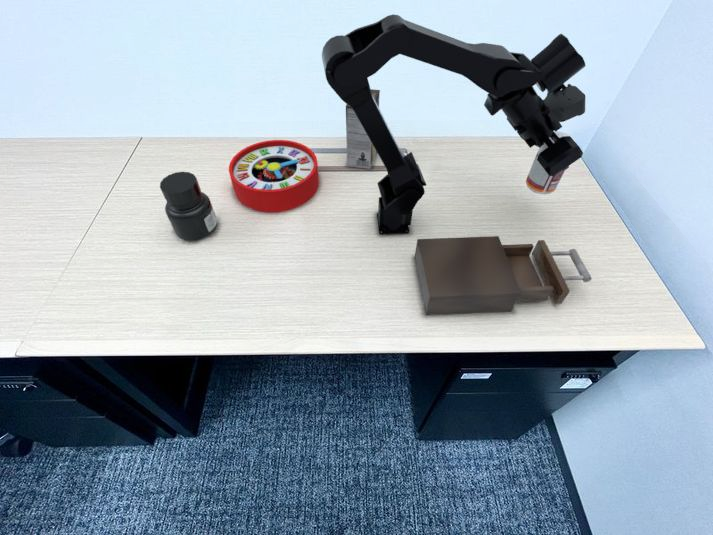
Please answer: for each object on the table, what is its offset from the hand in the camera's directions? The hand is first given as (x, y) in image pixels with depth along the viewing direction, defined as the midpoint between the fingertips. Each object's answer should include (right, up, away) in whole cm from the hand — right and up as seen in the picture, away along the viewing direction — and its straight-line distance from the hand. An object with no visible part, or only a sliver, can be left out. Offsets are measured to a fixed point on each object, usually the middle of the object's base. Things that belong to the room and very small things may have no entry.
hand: (558, 159), depth 79 cm
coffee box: (-39, +6, +23) cm, 46 cm away
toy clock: (-59, -2, +16) cm, 61 cm away
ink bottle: (-74, -13, +6) cm, 76 cm away
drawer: (-8, -24, -4) cm, 25 cm away
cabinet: (-20, -25, -4) cm, 32 cm away
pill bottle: (-1, -5, +5) cm, 7 cm away
